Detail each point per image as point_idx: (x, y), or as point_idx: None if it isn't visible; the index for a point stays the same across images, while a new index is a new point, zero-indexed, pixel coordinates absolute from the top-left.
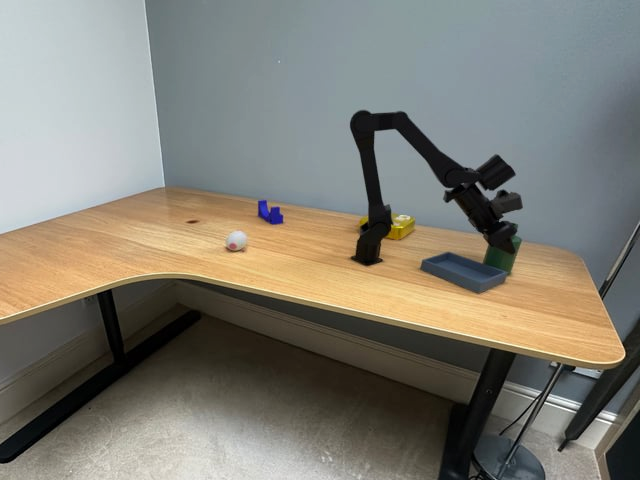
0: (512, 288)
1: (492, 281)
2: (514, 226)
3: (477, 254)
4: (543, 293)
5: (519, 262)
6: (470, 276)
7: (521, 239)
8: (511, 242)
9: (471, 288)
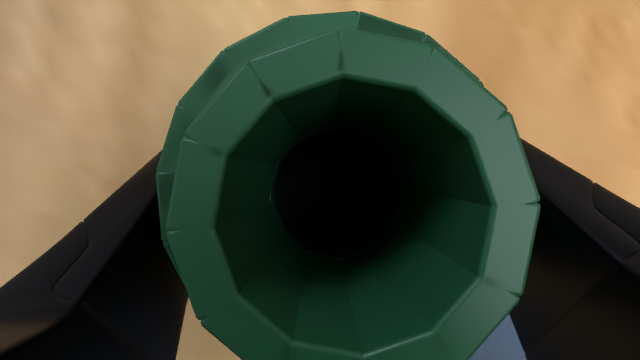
0: (546, 143)
1: None
2: (525, 165)
3: (70, 230)
4: (563, 2)
5: (133, 6)
6: (489, 347)
7: (372, 20)
8: (605, 199)
9: None
